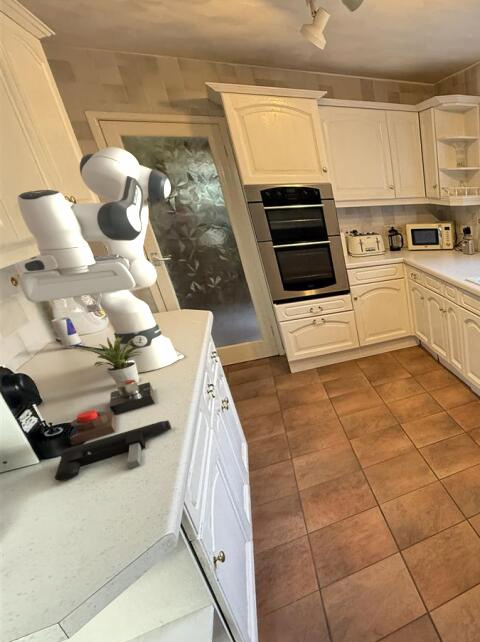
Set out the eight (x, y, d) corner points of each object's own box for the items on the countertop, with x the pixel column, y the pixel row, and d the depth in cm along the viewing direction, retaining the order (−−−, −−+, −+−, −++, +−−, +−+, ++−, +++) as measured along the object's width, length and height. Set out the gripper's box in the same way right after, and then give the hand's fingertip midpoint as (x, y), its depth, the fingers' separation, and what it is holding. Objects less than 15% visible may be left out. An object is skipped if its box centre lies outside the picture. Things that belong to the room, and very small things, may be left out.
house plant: (119, 397, 122) (95, 348, 115) (85, 394, 125) (59, 346, 118) (164, 376, 135) (145, 331, 128) (133, 374, 137) (112, 330, 131)
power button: (80, 419, 103) (77, 413, 103) (99, 414, 106) (96, 408, 105) (78, 424, 101) (75, 419, 100) (98, 419, 103) (95, 413, 102)
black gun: (168, 446, 93) (167, 415, 104) (45, 486, 81) (59, 446, 93) (173, 457, 94) (172, 425, 105) (54, 497, 83) (66, 457, 94)
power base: (76, 429, 106) (68, 416, 104) (116, 417, 110) (109, 405, 109) (72, 445, 99) (64, 432, 97) (115, 432, 104) (108, 419, 102)
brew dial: (119, 398, 114) (113, 387, 113) (122, 392, 118) (116, 381, 116) (139, 394, 117) (133, 382, 115) (141, 388, 120) (136, 377, 119)
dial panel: (115, 400, 120) (110, 391, 119) (153, 390, 125) (149, 381, 124) (114, 415, 112) (109, 406, 110) (154, 404, 117) (150, 394, 116)
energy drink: (86, 343, 168) (73, 317, 163) (72, 348, 163) (58, 321, 158) (75, 343, 168) (61, 317, 164) (61, 348, 163) (46, 321, 159)
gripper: (124, 252, 108) (144, 300, 114) (12, 263, 96) (41, 317, 101) (124, 254, 104) (145, 305, 110) (7, 266, 92) (37, 322, 97)
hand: (94, 311), depth 105 cm, fingers closed
